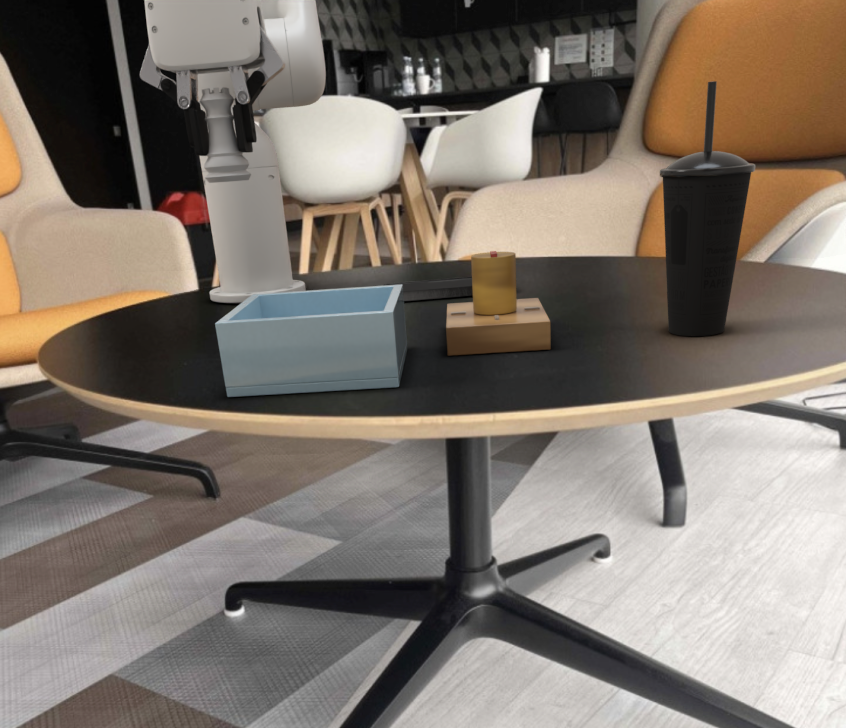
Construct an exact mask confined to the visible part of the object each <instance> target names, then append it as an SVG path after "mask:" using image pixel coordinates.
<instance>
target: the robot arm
mask: <svg viewBox="0 0 846 728" xmlns="http://www.w3.org/2000/svg"><path fill="white" fill-rule="evenodd" d="M143 1H144V10H145V19H146V29H147V37H148V45H147V49H146V51H145V55H144V59H143V61H142V64H141V68H140V71H139V78H140V79H141V81H143V82H145V83H147V84H149V85H150V86H152V87H155V88H156V89H158V90H161V91H162V92H163V93H165V94H166V96H168V97H169V98H170V99H171V100H172V101H174V102H175V103H176V104H177V105H178V107H179V108H180V109H182V110H183V115H184V120H185V121H184V122H185V126H186V135H187V138H188V139H187V140H188V144H189V147H190V148H194V152H195V156H196V157H199V162H200V167H201V174H202V180H203V186H204V192H205V193H204V194H205V199H206V204H207V212H208V218H209V223H210V229H211V235H212V243H213V249H214V254H215V261H216V262H215V263H216V267H217V274H218V279H219V285H220V286H218V287H215V288H212V289H211V290H210V291H209V292H208V293H209V298H210V299H209V300H211V301H212V302H213V303H219V304H220V303H221V304H241V303H242V302H243V301H245V300H246V299H247V298H249V297H250V296H251V295H253V294H264V293H280V292H295V291H307V289H306V282H305V281H303V280H300V279H299V280H298V279H294V278H293V270H292V262H291V255H290V247H289V239H288V231H287V223H286V216H285V215H286V214H285V206H284V200H283V192H282V183H281V175H280V167H279V160H278V159H279V158H278V153H277V151H276V150H277V149H276V148H275V144H274V142H273V141H272V139H271V138H270V137H269V135H268V134H267V133H266V132H265V131H264V130H263V128H261V127H260V126H259V125H258V124H257V123H256V122H255V115H254V112H255V111H260V110H269V109H283V108H285V109H286V108H298V107H305V106H310V105H313V104H315V103H317V101H319V100H320V99H321V98H322V95H323V94H324V91H325V88H326V77H327V71H326V60H325V53H324V47H323V40H322V34H321V27H320V21H319V15H318V8H317V2H316V1H317V0H143ZM161 70H163V71H168V72H171V73H174V74H176V75H175V76H176V81H175V80H174V79H172V78H170V77H168V76H166V75H164V74H163V73H162V72H161ZM207 88H210V93H211V92H212V90H214V89H213V88H219V92H221V89H222V88H229V93H230V95H231V96H232V97H233V98H234V102H233V104H232V106H231V113H232V115H233V117H234V120H233V125H234V131H235V134H236V138H237V145H238V150H239V151H241V152H243V156H244V157H245V158H246V159H247V160H248V163H249V166H248V168H247V169H246V170H247V171H248V172H249V173H250V174H251V176H250V178H249V180H242V181H229V182H216V183H209V182H208V181H207V180H206V179H205V177H206V176H207V175H208V174H209V173H208V172H207V170H206V169H205V168H204V164H205V162H206V160H207V159H208V157H207V154H208V151H209V131H208V125H207V122H206V121H205V118H206V110H205V108H204V107H203V106H202V105H201V103H200V99H201V97H202V89H207Z"/></svg>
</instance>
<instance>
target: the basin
mask: <svg viewBox="0 0 846 728" xmlns="http://www.w3.org/2000/svg"><path fill="white" fill-rule="evenodd" d="M214 325H215V332H216V339H217V345H218V349H219V350H218V351H219V356H220V361H221V362H220V363H221V368H222V374H223V380H224V386H225V391H226V397H227V398H240V397H241V398H242V397H257V396H258V397H259V396H275V395H293V394H307V393H308V394H309V393H325V392H342V391H343V392H344V391H357V390H358V391H360V390H361V391H362V390H374V389H375V390H377V389H394V388H399V387H400V384H401V379H402V375H403V371H404V365H405V362H406V358H407V353H408V338H407V337H408V336H407V322H406V308H405V301H404V294H403V285H402V284H401V285H386V286H383V285H376V286H375V285H374V286H373V285H372V286H358V287H341V288H326V289H313V290H312V289H311V290H305V291H295V292H280V293H264V294H253V295H251V296H250V297H249V298H247V299H246V300H245V301H243V302H242V303H239V304H238V305H237V306H236V307H234V308H233V309H232V310H231V311H229V312H228V313H226V314H225V315H224V316H223V317H221V318H220V319H218V321H216V322H215V323H214Z"/></svg>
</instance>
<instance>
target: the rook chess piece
mask: <svg viewBox="0 0 846 728" xmlns="http://www.w3.org/2000/svg"><path fill="white" fill-rule="evenodd" d="M213 89H214V90H212V92H211V93H210V88H207V89H202V97H201V99H200V103H201V105H202V106H203V107H204V108H205V110H206V118H205V121H206V122H207V125H208V131H209V151H208V154H207V157H208V159H207V160H206V162H205V164H204V168H205V169H206V170H207V172H208V173H209V174H208V175H207V176H206V177H205V179H206V180H207V181H208V182H209V183H216V182H229V181H242V180H249V178H250V176H251V174H250V173H249V172H248V171H247V170H246V169H247V168H248V166H249V163H248V160H247V159H246V158H245V157H244V156H243V152H241V151H239V150H238V145H237V138H236V134H235V131H234V125H233V120H234V117H233V115H232V113H231V106H232V104H233V102H234V98H233V97H232V96H231V95H230V93H229V88H222V89H221V92H219V88H213Z"/></svg>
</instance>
